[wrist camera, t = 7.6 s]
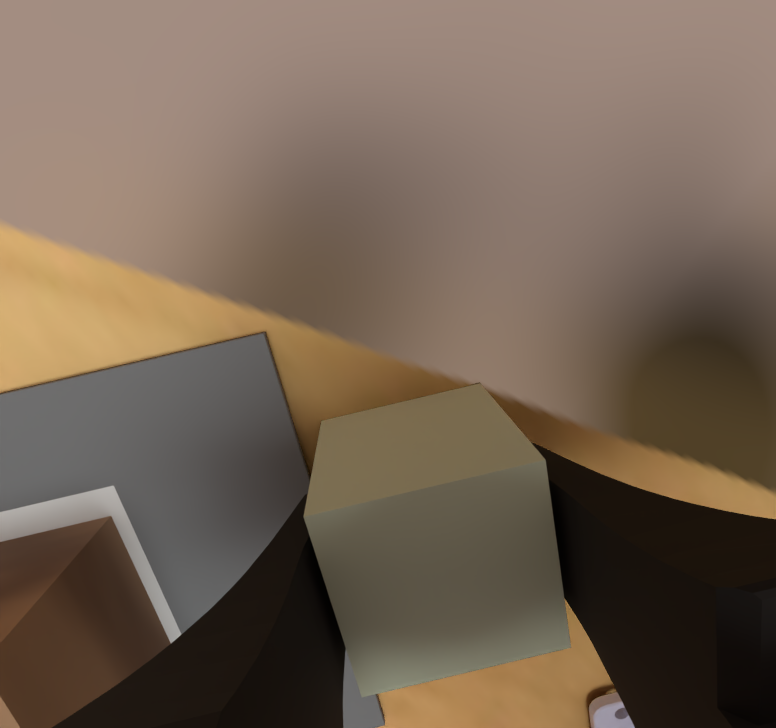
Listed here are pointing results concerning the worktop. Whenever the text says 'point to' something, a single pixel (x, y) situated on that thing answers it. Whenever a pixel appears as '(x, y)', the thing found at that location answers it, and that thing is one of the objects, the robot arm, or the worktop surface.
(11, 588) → the walnut base block
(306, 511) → the sage cube
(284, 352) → the worktop surface
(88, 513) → the gray mat
